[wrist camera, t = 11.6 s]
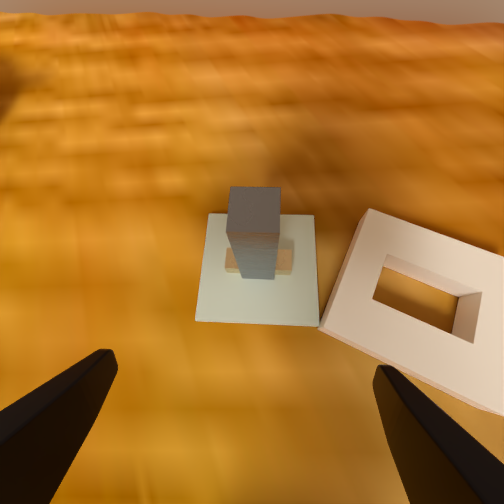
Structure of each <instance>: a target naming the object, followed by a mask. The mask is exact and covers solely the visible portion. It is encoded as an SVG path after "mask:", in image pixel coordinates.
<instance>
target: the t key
mask: <svg viewBox="0 0 504 504" xmlns="http://www.w3.org/2000/svg"><path fill="white" fill-rule="evenodd" d="M280 196H281V187H230V196H229V205H228V215H227V224H226V234H227V237H228V240H229V242H230V245H231V248H227V249H226V258H225V270H226V272H227V273H240V274H241V277H242V278H243V279H266V280H274V276H275V275H290V274H291V271H292V250H287V249H278V244H279V236H280Z"/></svg>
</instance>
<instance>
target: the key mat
mask: <svg viewBox="0 0 504 504" xmlns="http://www.w3.org/2000/svg"><path fill="white" fill-rule="evenodd" d="M227 215H228V214H209V217H208V224H207V232H206V240H205V247H204V255H203V263H202V271H201V278H200V286H199V294H198V301H197V309H196V317H195V321H204V322H226V323H248V324H270V325H292V326H314V327H319V326H320V323H319V304H318V285H317V266H316V247H315V228H314V215H280V236H279V244H278V249H287V250H292V271H291V274H290V275H275V276H274V280H266V279H243V278H242V277H241V274H240V273H227V272H226V270H225V258H226V249H227V248H231V245H230V242H229V240H228V237H227V234H226V224H227Z"/></svg>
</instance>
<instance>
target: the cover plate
mask: <svg viewBox="0 0 504 504" xmlns="http://www.w3.org/2000/svg"><path fill="white" fill-rule="evenodd" d="M383 266H384V267H386V268H389V269H391V270H393V271H396V272H398V273H401V274H403V275H406V276H408V277H410V278H413V279H415V280H418V281H420V282H423V283H425V284H428V285H430V286H432V287H435V288H437V289H440V290H442V291H445V292H447V293H449V294H452V295H454V296H457V297H459V300H458V305H457V310H456V315H455V319H454V324H453V329H452V334H449V333H447V332H445V331H443V330H440V329H438V328H436V327H434V326H431V325H429V324H427V323H425V322H422V321H420V320H418V319H416V318H413V317H411V316H409V315H407V314H404V313H402V312H400V311H398V310H395V309H393V308H391V307H389V306H386V305H384V304H382V303H380V302H377V301H375V300H373V299H372V297H373V294H374V291H375V288H376V285H377V282H378V279H379V276H380V273H381V270H382V267H383ZM317 329H318V330H320V331H322V332H324V333H326V334H328V335H330V336H332V337H334V338H336V339H338V340H340V341H342V342H344V343H346V344H348V345H350V346H352V347H354V348H356V349H358V350H360V351H362V352H364V353H366V354H368V355H370V356H372V357H374V358H376V359H378V360H380V361H382V362H384V363H386V364H388V365H391V366H393V367H395V368H396V369H398V370H400V371H402V372H405V373H407V374H409V375H411V376H413V377H415V378H417V379H419V380H421V381H423V382H425V383H427V384H429V385H431V386H433V387H435V388H437V389H439V390H441V391H443V392H445V393H447V394H449V395H451V396H453V397H455V398H457V399H459V400H461V401H463V402H465V403H467V404H469V405H471V406H473V407H475V408H478V409H481V410H484V411H488V412H491V413H494V414H498V415H501V416H504V257H502V256H499V255H497V254H494V253H491V252H488V251H486V250H483V249H480V248H477V247H475V246H472V245H469V244H467V243H464V242H461V241H458V240H456V239H453V238H450V237H447V236H445V235H442V234H439V233H436V232H434V231H431V230H428V229H425V228H423V227H420V226H417V225H414V224H412V223H409V222H406V221H404V220H401V219H398V218H395V217H393V216H390V215H387V214H384V213H382V212H379V211H376V210H373V209H371V208H369V209H368V210H367V211H366V213H365V214H364V215H363V217H362V218H361V219H360V221H359V223H358V226H357V228H356V231H355V233H354V236H353V239H352V241H351V244H350V246H349V249H348V251H347V254H346V257H345V259H344V262H343V264H342V267H341V269H340V272H339V274H338V277H337V280H336V282H335V285H334V287H333V290H332V292H331V295H330V298H329V300H328V303H327V305H326V308H325V310H324V313H323V315H322V318H321V321H320V326H319V327H318V328H317Z"/></svg>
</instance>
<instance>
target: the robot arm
mask: <svg viewBox="0 0 504 504" xmlns="http://www.w3.org/2000/svg"><path fill="white" fill-rule="evenodd" d="M117 371H118V364H117V361H116V358H115V355H114V352H113V350H111V349H99V350H97V351H95V352H93V353H92V354H90V355H89V356H87V357H86V358H84V359H82V360H81V361H79V362H78V363H76V364H74V365H73V366H71V367H70V368H68V369H66V370H65V371H63V372H62V373H60V374H59V375H57V376H55V377H54V378H52V379H51V380H49V381H47V382H46V383H44V384H43V385H41V386H39V387H38V388H36V389H35V390H33V391H32V392H30V393H28V394H27V395H25V396H24V397H22V398H20V399H19V400H17V401H16V402H14V403H12V404H11V405H9V406H8V407H6V408H4V409H3V410H1V411H0V504H49V503H50V502H51V500H52V498H53V496H54V494H55V493H56V491H57V489H58V487H59V485H60V484H61V482H62V480H63V478H64V476H65V475H66V473H67V471H68V469H69V467H70V466H71V464H72V462H73V460H74V458H75V457H76V455H77V453H78V451H79V449H80V448H81V446H82V444H83V442H84V440H85V439H86V437H87V435H88V433H89V431H90V430H91V428H92V426H93V424H94V422H95V420H96V418H97V416H98V414H99V412H100V410H101V407H102V405H103V403H104V401H105V398H106V396H107V394H108V392H109V390H110V387H111V385H112V383H113V381H114V378H115V376H116V374H117ZM373 390H374V394H375V398H376V402H377V405H378V409H379V413H380V416H381V420H382V424H383V428H384V431H385V435H386V438H387V442H388V445H389V448H390V450H391V453H392V456H393V459H394V461H395V464H396V467H397V469H398V472H399V475H400V478H401V480H402V483H403V486H404V488H405V491H406V494H407V496H408V499H409V502H410V504H504V464H503V463H502V462H501V461H499V460H498V459H497V458H496V457H495V456H494V455H493V454H492V453H490V452H489V451H488V450H487V449H486V448H485V447H484V446H483V445H481V444H480V443H479V442H478V441H477V440H476V439H475V438H474V437H472V436H471V435H470V434H469V433H468V432H467V431H466V430H465V429H463V428H462V427H461V426H460V425H459V424H458V423H457V422H456V421H454V420H453V419H452V418H451V417H450V416H449V415H448V414H447V413H445V412H444V411H443V410H442V409H441V408H440V407H439V406H437V405H436V404H435V403H434V402H433V401H432V400H431V399H430V398H428V397H427V396H426V395H425V394H424V393H423V392H422V391H421V390H419V389H418V388H417V387H416V386H415V385H414V384H413V383H412V382H410V381H409V380H408V379H407V378H406V377H405V376H404V375H403V374H401V373H400V372H399V371H398V370H397V369H396V368H395V367H393V366H391V365H378V366H377V369H376V372H375V376H374V379H373Z"/></svg>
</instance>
